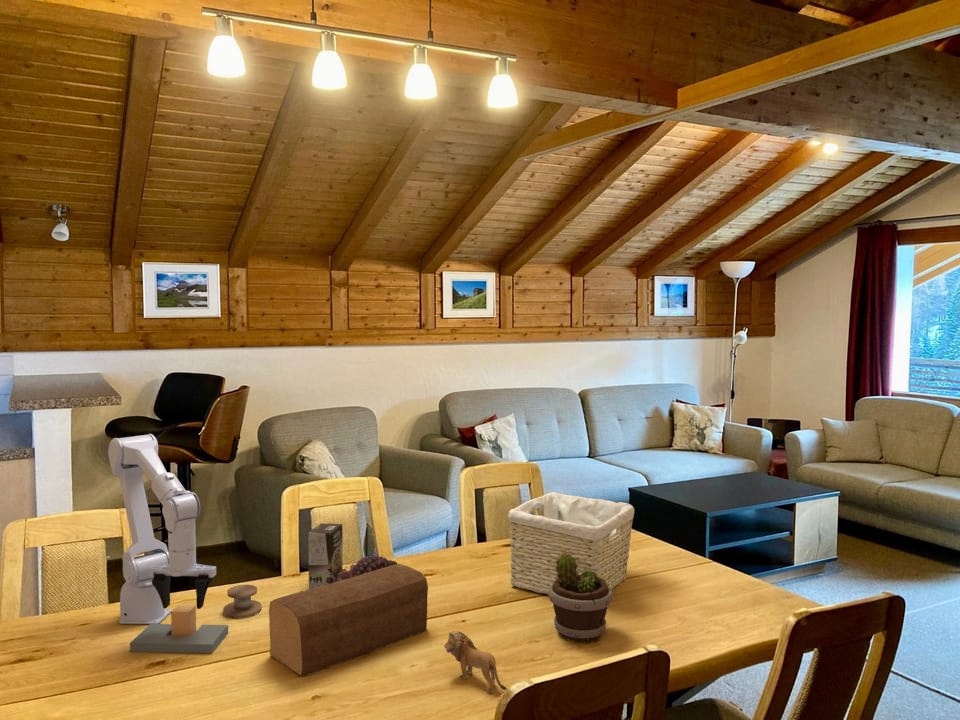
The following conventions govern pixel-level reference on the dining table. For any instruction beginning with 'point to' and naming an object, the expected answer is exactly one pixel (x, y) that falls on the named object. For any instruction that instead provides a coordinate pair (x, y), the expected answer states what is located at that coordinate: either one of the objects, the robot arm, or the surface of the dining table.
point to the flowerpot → (579, 601)
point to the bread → (347, 618)
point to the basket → (569, 539)
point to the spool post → (242, 602)
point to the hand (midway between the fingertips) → (183, 607)
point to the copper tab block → (183, 620)
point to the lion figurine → (472, 658)
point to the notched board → (179, 639)
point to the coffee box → (325, 554)
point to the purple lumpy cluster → (366, 566)
